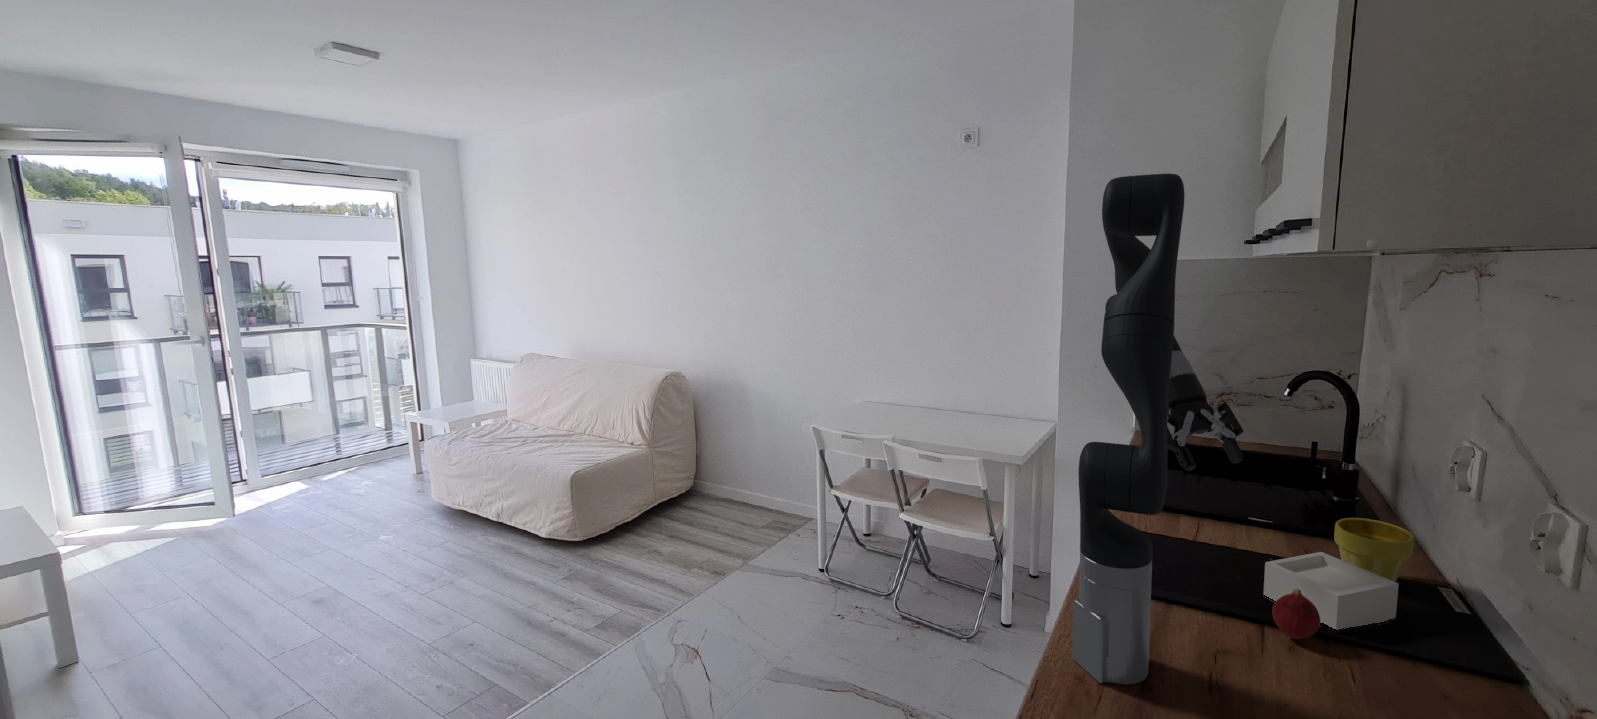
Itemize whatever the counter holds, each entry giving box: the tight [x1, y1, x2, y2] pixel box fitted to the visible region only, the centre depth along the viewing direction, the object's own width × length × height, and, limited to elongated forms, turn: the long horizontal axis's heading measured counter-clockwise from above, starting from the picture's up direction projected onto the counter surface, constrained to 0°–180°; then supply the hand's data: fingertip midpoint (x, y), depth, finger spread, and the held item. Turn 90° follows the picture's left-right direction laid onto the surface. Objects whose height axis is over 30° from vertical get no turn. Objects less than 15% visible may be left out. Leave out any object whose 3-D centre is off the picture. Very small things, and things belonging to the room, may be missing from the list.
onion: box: [1271, 588, 1321, 640], centre depth 98 cm, size 6×6×8 cm
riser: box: [1263, 551, 1400, 630], centre depth 106 cm, size 12×12×6 cm
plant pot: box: [1333, 517, 1415, 583], centre depth 113 cm, size 10×10×10 cm
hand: (1214, 465), depth 110 cm, fingers open, 8 cm apart
